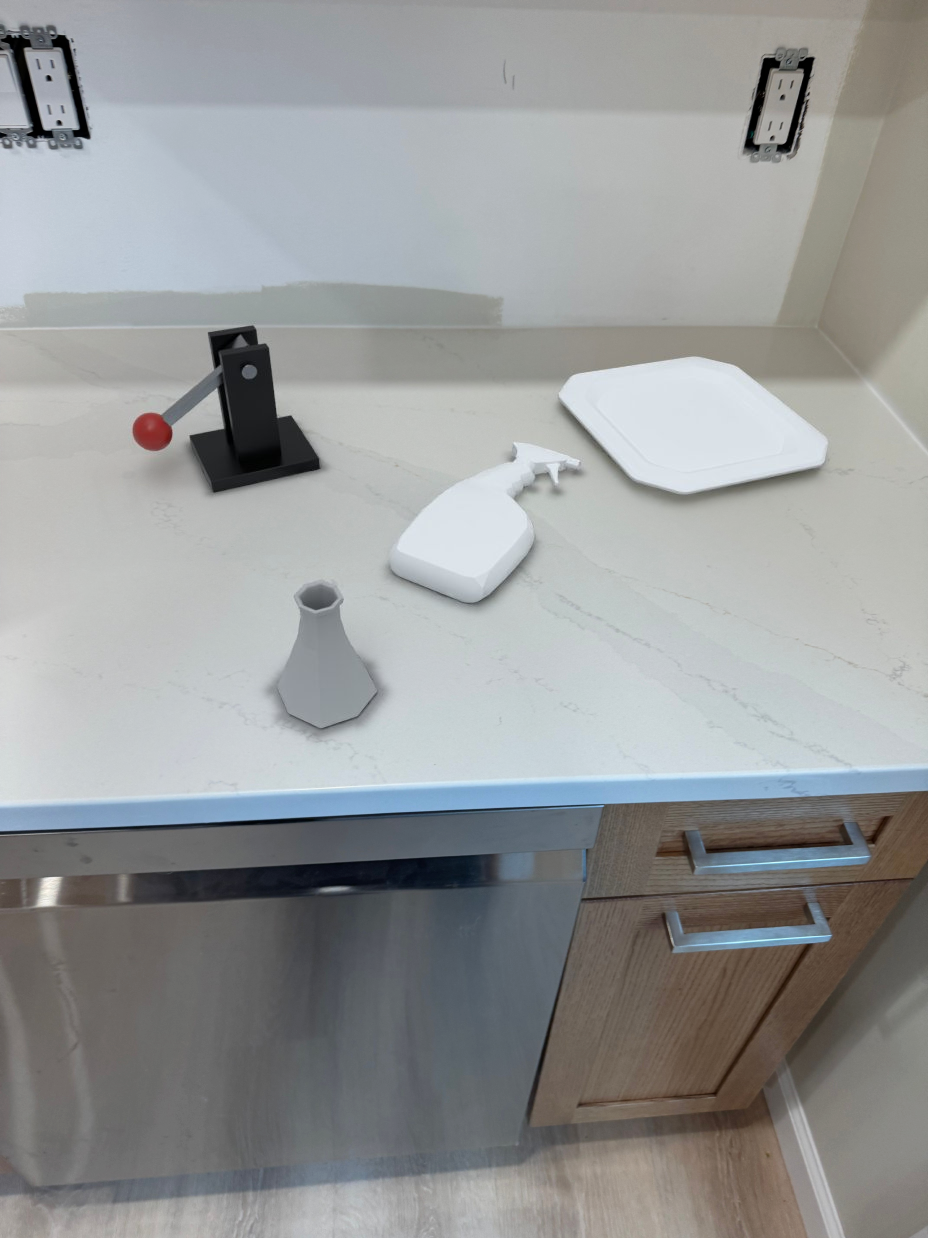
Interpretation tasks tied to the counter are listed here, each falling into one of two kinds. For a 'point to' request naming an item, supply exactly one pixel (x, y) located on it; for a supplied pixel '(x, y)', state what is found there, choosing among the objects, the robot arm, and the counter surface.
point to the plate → (691, 424)
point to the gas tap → (249, 420)
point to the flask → (323, 662)
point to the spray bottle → (475, 528)
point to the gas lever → (177, 409)
